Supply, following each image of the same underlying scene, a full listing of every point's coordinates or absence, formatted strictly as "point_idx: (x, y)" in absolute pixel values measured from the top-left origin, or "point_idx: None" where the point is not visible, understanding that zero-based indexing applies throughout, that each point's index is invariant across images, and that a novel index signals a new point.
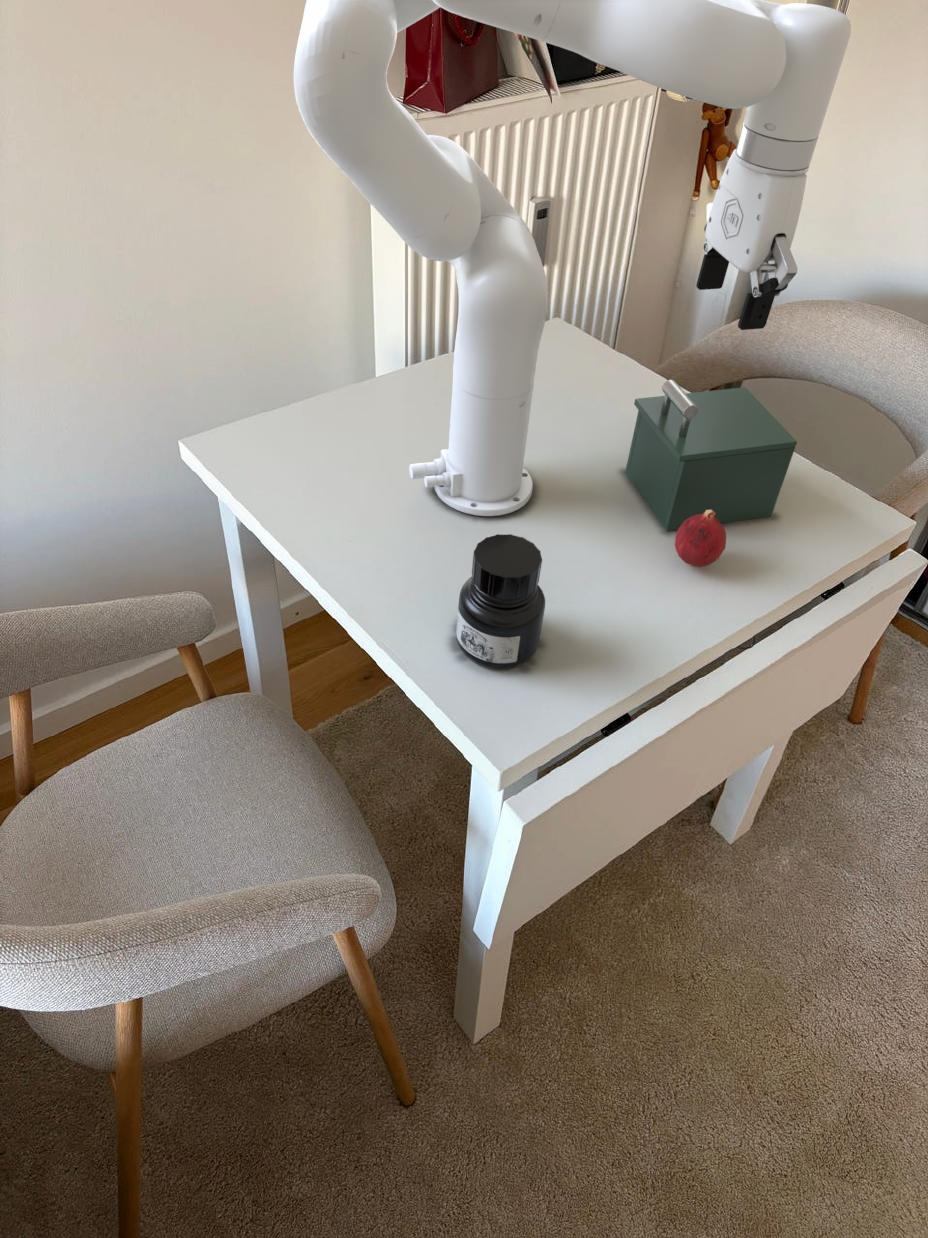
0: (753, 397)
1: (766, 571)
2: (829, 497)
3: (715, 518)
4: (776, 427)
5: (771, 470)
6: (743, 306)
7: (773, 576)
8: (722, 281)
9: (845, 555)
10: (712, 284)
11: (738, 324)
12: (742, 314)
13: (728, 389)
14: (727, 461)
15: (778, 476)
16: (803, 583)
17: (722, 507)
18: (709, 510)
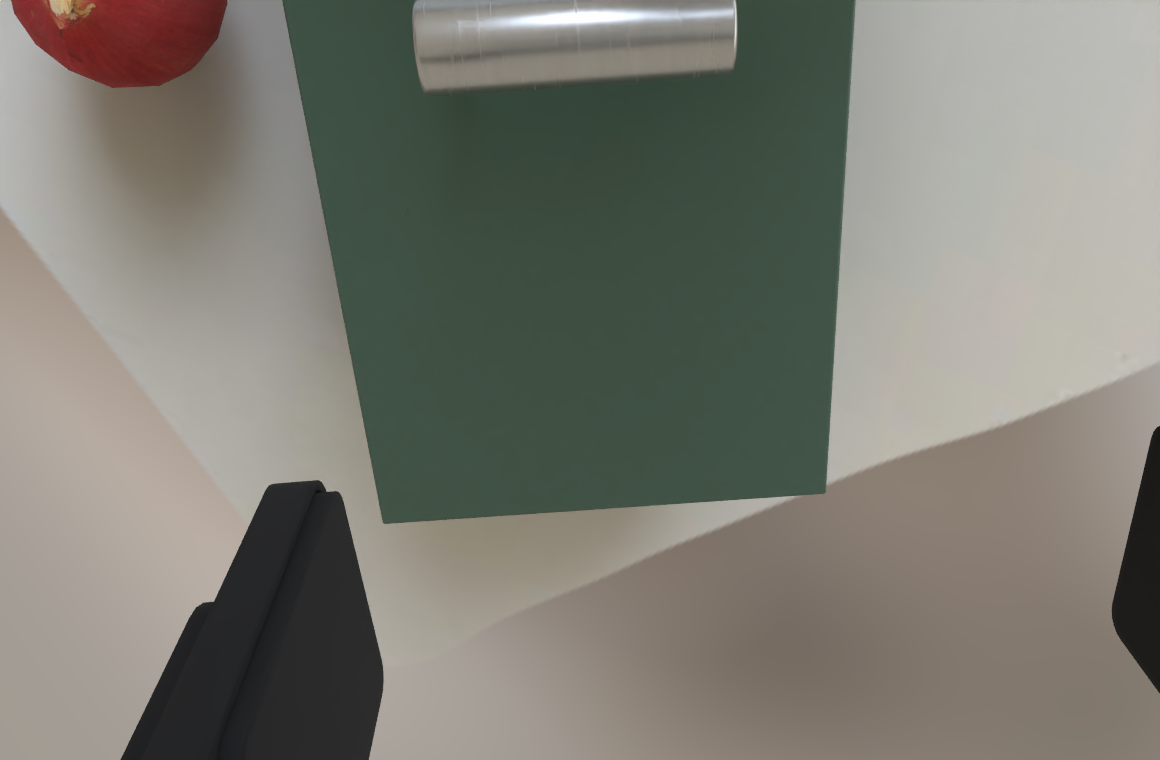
0: (737, 492)
1: (144, 223)
2: (506, 556)
3: (88, 38)
4: (494, 489)
5: None
6: (258, 623)
7: (119, 235)
8: (1146, 660)
9: (230, 483)
10: (1152, 558)
11: (299, 488)
12: (257, 566)
13: (824, 416)
14: None
15: None
16: (90, 312)
17: None
18: (60, 2)
